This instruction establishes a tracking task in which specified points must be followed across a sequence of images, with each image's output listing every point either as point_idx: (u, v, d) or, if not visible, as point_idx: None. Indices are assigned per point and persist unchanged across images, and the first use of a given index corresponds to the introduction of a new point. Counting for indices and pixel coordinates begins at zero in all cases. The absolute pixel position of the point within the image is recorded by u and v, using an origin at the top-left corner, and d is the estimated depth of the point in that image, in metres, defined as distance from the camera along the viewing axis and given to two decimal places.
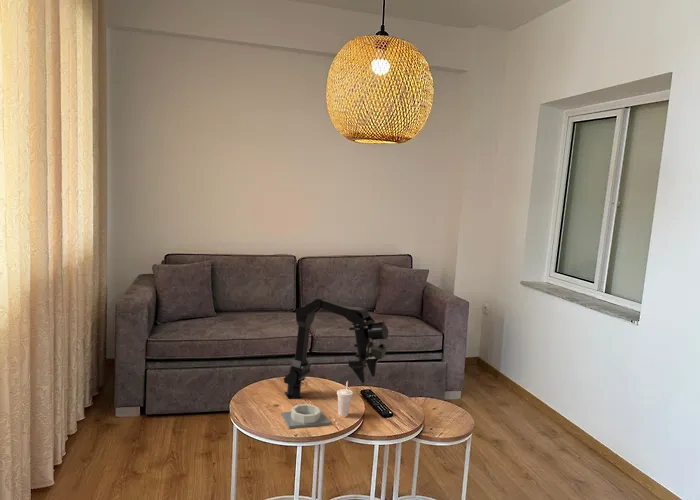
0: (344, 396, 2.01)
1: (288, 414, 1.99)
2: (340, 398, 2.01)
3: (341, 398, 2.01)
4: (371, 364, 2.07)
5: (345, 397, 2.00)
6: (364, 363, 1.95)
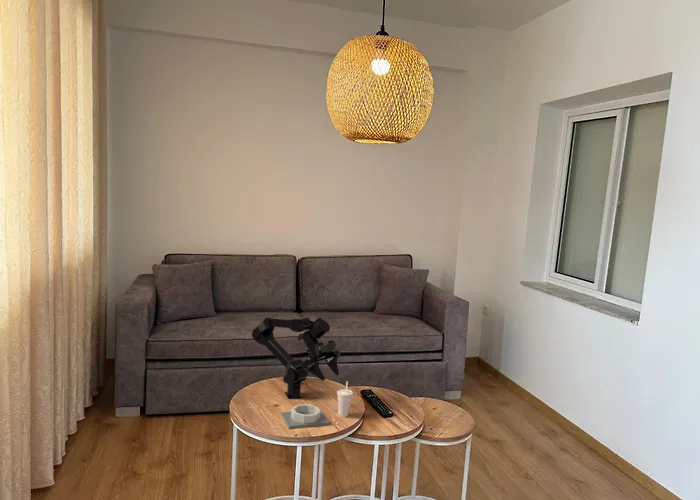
0: (344, 396, 2.01)
1: (288, 414, 1.99)
2: (340, 398, 2.01)
3: (341, 398, 2.01)
4: (332, 364, 2.13)
5: (345, 397, 2.00)
6: (314, 360, 2.03)
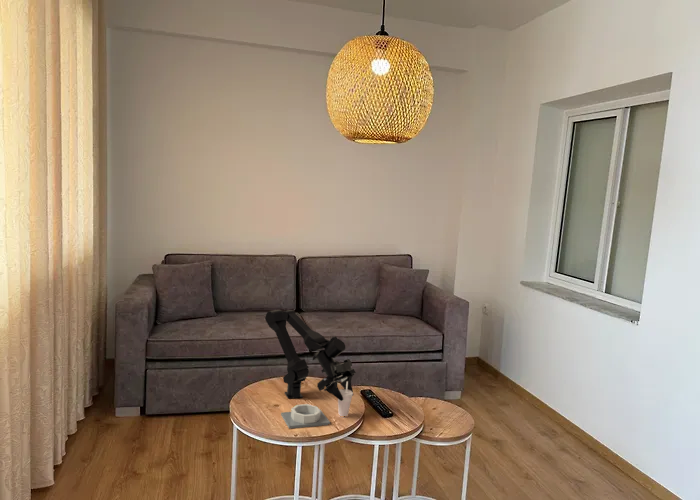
0: (344, 396, 2.01)
1: (288, 414, 1.99)
2: None
3: None
4: None
5: (345, 397, 2.00)
6: (330, 380, 1.98)
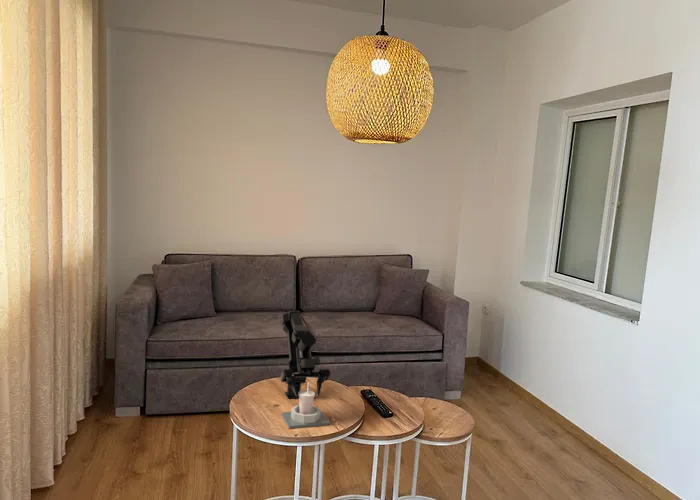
0: (301, 396, 1.94)
1: (288, 414, 1.99)
2: (299, 398, 1.96)
3: (299, 398, 1.95)
4: (318, 383, 2.00)
5: (301, 397, 1.94)
6: (289, 373, 1.96)
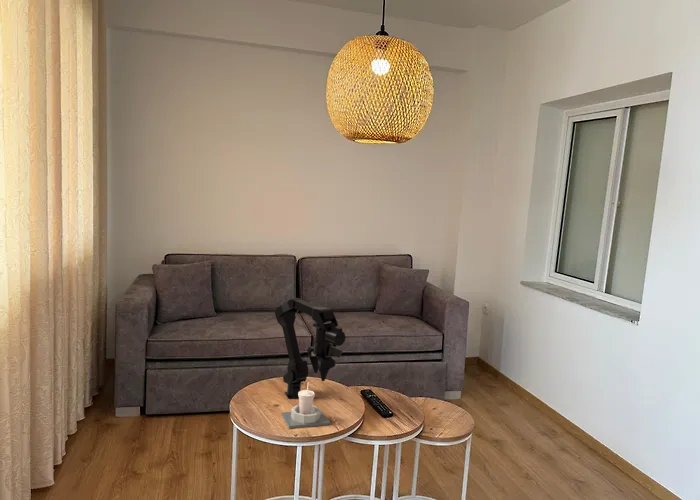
0: (301, 396, 1.94)
1: (288, 414, 1.99)
2: (299, 398, 1.96)
3: (299, 398, 1.95)
4: (316, 361, 2.12)
5: (301, 397, 1.94)
6: None
